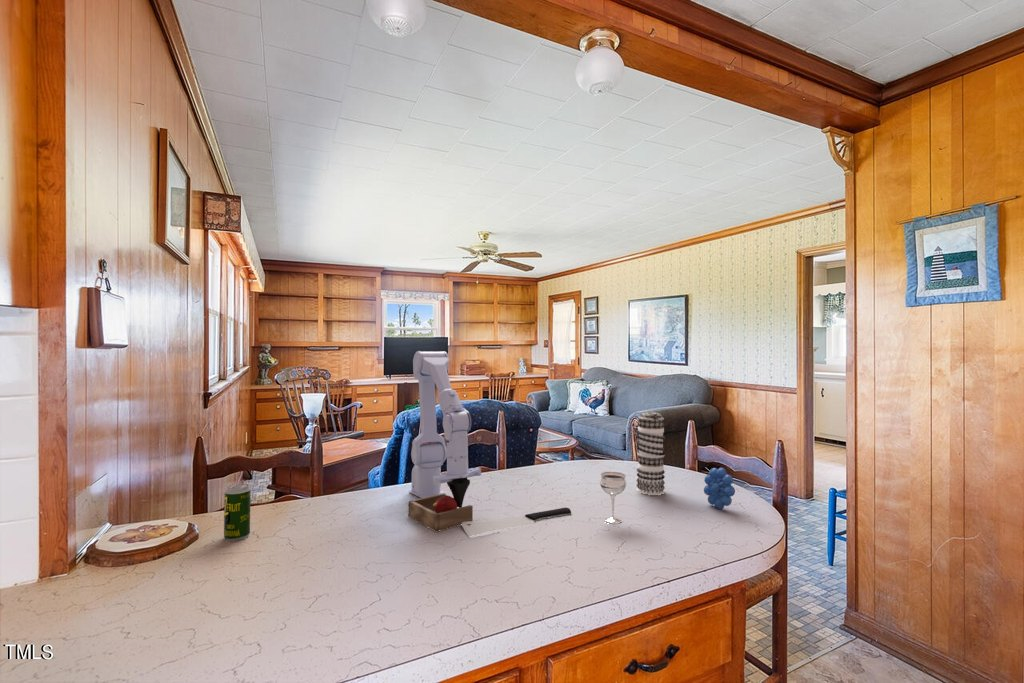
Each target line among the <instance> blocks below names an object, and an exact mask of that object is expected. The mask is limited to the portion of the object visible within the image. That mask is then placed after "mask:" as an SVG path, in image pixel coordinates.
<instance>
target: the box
mask: <svg viewBox="0 0 1024 683" xmlns="http://www.w3.org/2000/svg"><path fill="white" fill-rule="evenodd" d="M442 496H446V494H444V493H442V494H438V495H433V496H429V497H425V498H420V497H419V498H418V499H413V500H412V499H411V500H409V501H408V515H407V516H408V517H409V518H411V519H413V520H415V521H416V522H417V523H420V524H421V523H422V524H421V525H424V526H425V527H427V528H428V527H429V529H430V528H431V529H430V530H432V529H433V530H432V531H434V530H435V531H434V532H436V531H437V532H440V531H439V530H441V531H444V530H447V528H448V529H451V528H454V526H455V527H458V526H462V525H461V524H462V522H466V521H473V516H474V515H473V512H474V510H473V508H474V507H473V506H474V505H472V504H469V505H466V506H465V505H464V506H462V507H461V508H459V507H457V509H453V510H449V511H445V512H442V513H436V512H435V510H434V506H433V504H434V503H435V502H436V500H437V499H439V498H440V497H442ZM457 525H458V526H457ZM450 527H451V528H450ZM443 529H444V530H443Z"/></svg>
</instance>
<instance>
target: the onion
mask: <svg viewBox="0 0 1024 683" xmlns="http://www.w3.org/2000/svg"><path fill="white" fill-rule="evenodd" d="M433 506H434V510H435V511H434V512H436V513H442V512H445V511H449V510H453V509H457V508H458V507H457V503H456V501H455V499H454V497H453V496H450V495H447V494H445V496H442V497H440V498H439V499H437V500H436V502H435V503H434V504H433Z"/></svg>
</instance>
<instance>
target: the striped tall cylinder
mask: <svg viewBox="0 0 1024 683" xmlns="http://www.w3.org/2000/svg"><path fill="white" fill-rule="evenodd" d="M637 418H638V426H637V429H635V432H636V434H635V436H636V438H637V439H636V441H635V442H636V444H637V445H636V446H635V447H636V449H637V451H636V454H637V456H638V457H637V458H638V460H637V461H638V463H637V468H636V471H637V473H636V476H637V479H636V482H637V483H636V487H637V489H636V491H637V492H638V491H639V492H640V493H639V492H638V493H639V494H641V493H644V494H649V495H648V496H650V495H658V496H661V495H660V494H663V495H664V494H665V489H666V487H665V484H666V482H665V480H664V479H665V478H666V476H665V475H664V474H665V472H666V471H665V470H664V469H665V468H664V466H665V465H664V457H665V455H666V453H665V450H666V447H664V445H665V444H666V443H667V442H666V441H665V440H666V439H667V438H666V437H667V436H665V435H664V433H665V427H664V419H665V418H664V417H663V416H662V414H661V413H659V412H655V411H653V412H652V411H644V412H641V413H640V415H639V416H638V417H637ZM644 494H643V495H644Z"/></svg>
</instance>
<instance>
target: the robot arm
mask: <svg viewBox="0 0 1024 683" xmlns="http://www.w3.org/2000/svg"><path fill="white" fill-rule="evenodd" d="M412 366H413V367H412V370H413V378H414V379H416V380H417V381H418V389H419V390H418V391H419V394H418V395H419V416H420V419H419V420H420V421H419V422H420V433H419V434H418V435H417V436H416V437H415V438H414V439H413V440H412V442H411V444H412V445H411V452H410V456H411V461H412V462H411V463H413V464H414V465H413V467H412V470H411V489H410V490H408V493H410V494H413V495H414V496H416V497H418V498H419V499H420V498H425V497H429V496H433V495H438V494H442V493H444V494H445V495H447V492H446V491H443V490H441V489H442V488H441V487H442V486H441V484H447V486H448V487H449V489H450V492H451V494H452V498H454V499H455V501H456V503H457V508H461V507H463V503H464V499H465V496H466V493H467V490H468V488H469V486H470V484H471V480H470V479H469V478H472V477H476V476H477V477H479V476H482V468H480V467H471V468H469V443H468V441H469V440H468V433H469V432H470V431H471V428H472V417H471V413H470V412H469V410H467V409H466V407H463V405H462V402H461V400H460V398H459V394H458V393H457V391H456V390H455V389H453V388H452V386H451V385H452V384H451V381H450V376H449V373H448V371H449V367H450V355H449V354H448V352H446V351H443V350H442V351H421V350H417V351H416V352H415V353H414V355H413V359H412ZM436 388H437V390H438V393H439V394H438V396H437V401H438V403H439V406H440V410H441V413H442V416H443V418H442V428H443V431H444V432H443V433H444V436H442V435H441V434H440V433H438V430H437V429H438V427H437V404H436ZM445 461H446V472H443V473H441V472H442V471H441V470H442V469H441V468H442V466H443V465H444V462H445Z"/></svg>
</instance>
